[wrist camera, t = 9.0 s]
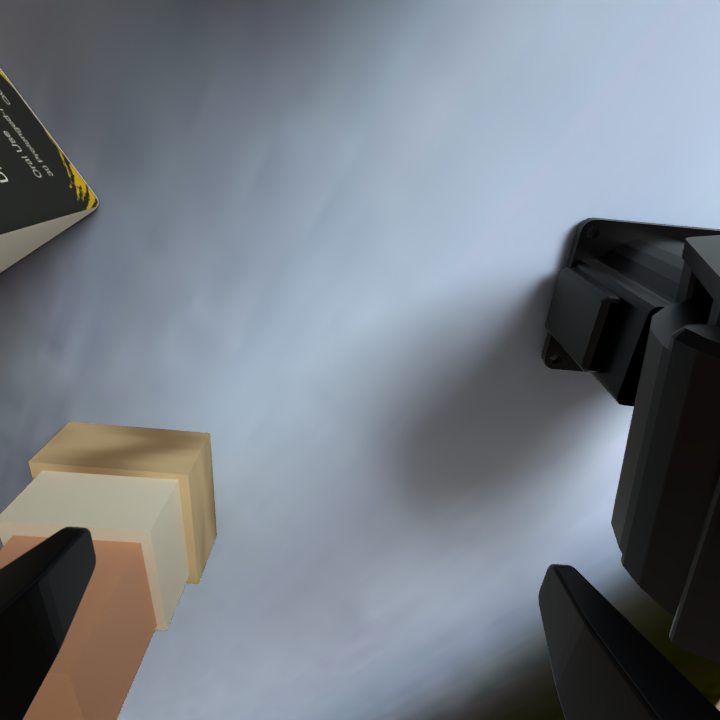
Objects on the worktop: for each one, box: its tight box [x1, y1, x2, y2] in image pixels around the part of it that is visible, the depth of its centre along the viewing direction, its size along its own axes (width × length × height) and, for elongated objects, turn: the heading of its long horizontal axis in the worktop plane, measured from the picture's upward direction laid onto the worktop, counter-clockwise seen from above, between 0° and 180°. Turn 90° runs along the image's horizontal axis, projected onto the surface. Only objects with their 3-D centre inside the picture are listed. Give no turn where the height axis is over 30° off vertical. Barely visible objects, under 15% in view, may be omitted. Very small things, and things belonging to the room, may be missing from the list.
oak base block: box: [28, 422, 217, 584], centre depth 24 cm, size 7×7×4 cm
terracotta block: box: [0, 535, 157, 720], centre depth 18 cm, size 5×5×5 cm
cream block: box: [0, 470, 190, 631], centre depth 21 cm, size 6×6×3 cm
